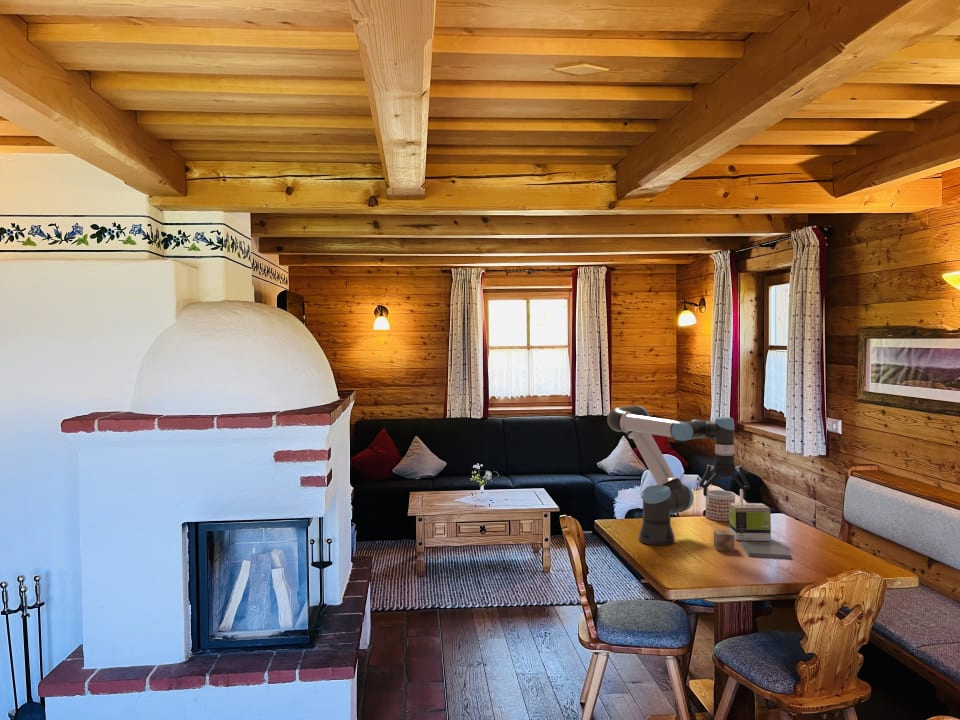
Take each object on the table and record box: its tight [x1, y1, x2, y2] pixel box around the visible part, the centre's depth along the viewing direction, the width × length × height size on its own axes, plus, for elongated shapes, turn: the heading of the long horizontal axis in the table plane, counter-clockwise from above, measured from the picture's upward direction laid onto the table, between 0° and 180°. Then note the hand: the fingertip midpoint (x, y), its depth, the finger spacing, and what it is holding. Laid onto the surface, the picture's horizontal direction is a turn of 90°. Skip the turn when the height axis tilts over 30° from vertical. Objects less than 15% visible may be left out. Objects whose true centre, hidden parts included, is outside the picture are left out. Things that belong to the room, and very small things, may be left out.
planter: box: [705, 489, 736, 523], centre depth 324 cm, size 14×14×13 cm
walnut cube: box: [713, 529, 735, 553], centre depth 273 cm, size 7×7×7 cm
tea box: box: [729, 502, 772, 542], centre depth 289 cm, size 15×10×15 cm
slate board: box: [740, 541, 792, 560], centre depth 269 cm, size 16×16×2 cm
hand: (724, 504), depth 273 cm, fingers open, 13 cm apart
